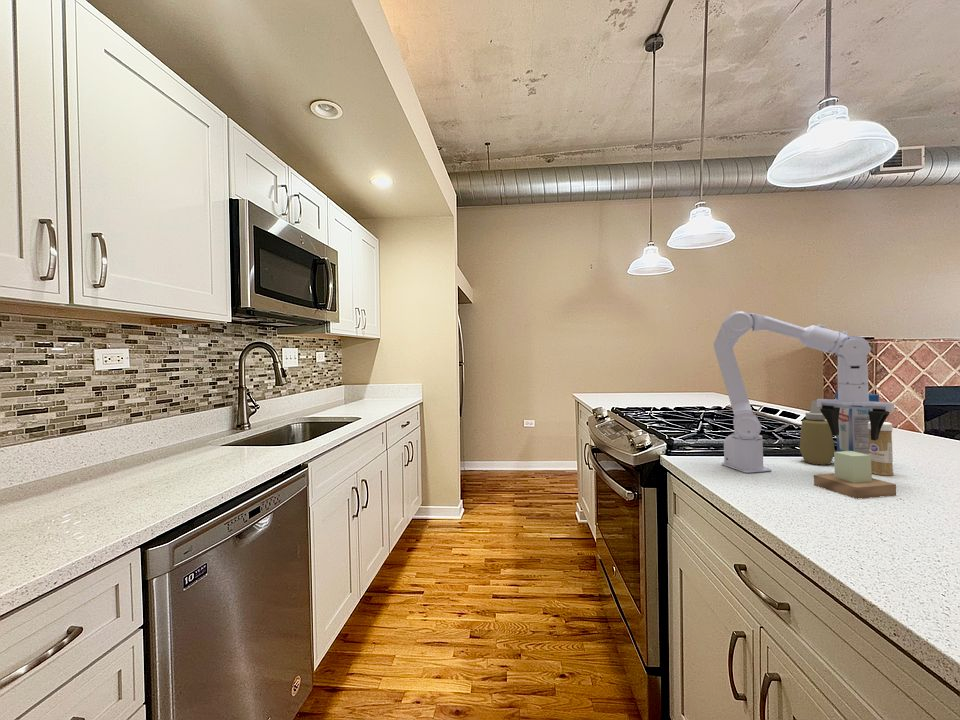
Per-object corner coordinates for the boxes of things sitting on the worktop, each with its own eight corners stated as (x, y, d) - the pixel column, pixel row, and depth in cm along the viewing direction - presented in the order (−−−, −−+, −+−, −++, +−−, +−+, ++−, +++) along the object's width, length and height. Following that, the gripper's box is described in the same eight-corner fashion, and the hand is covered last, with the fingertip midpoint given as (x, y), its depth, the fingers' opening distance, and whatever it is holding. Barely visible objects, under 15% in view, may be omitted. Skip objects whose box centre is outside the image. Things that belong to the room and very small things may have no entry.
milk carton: (881, 468, 111) (878, 394, 111) (852, 466, 113) (849, 394, 113) (863, 459, 120) (861, 391, 120) (837, 458, 122) (834, 391, 122)
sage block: (834, 477, 97) (834, 451, 97) (851, 476, 97) (851, 450, 97) (854, 482, 92) (853, 456, 92) (871, 481, 93) (870, 455, 93)
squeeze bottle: (793, 459, 123) (791, 399, 123) (822, 459, 122) (820, 399, 122) (811, 466, 115) (809, 402, 115) (843, 466, 114) (840, 402, 114)
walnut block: (814, 487, 99) (813, 474, 99) (849, 484, 100) (849, 472, 100) (857, 501, 89) (857, 487, 89) (896, 497, 90) (895, 484, 90)
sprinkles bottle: (865, 472, 107) (864, 421, 107) (874, 470, 109) (873, 420, 109) (888, 477, 103) (886, 424, 103) (897, 474, 105) (895, 422, 105)
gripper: (810, 383, 107) (812, 435, 107) (885, 385, 95) (887, 444, 95) (823, 382, 111) (824, 432, 111) (896, 383, 98) (898, 440, 98)
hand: (854, 437), depth 103 cm, fingers open, 7 cm apart
